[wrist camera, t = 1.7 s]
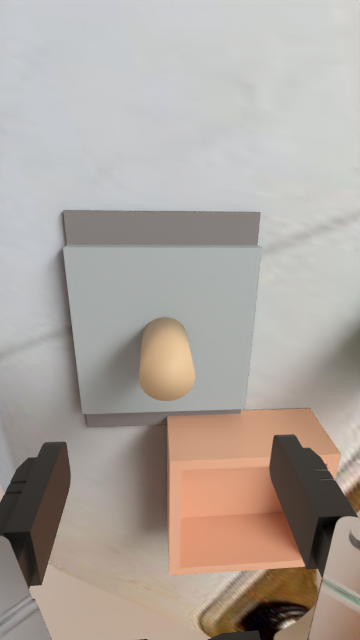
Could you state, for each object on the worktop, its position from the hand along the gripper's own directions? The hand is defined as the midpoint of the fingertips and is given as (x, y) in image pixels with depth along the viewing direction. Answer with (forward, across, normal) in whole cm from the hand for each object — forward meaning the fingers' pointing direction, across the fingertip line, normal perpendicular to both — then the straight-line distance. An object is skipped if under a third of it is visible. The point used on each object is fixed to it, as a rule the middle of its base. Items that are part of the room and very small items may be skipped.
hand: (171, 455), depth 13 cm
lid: (+11, 0, 0) cm, 11 cm away
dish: (+12, -6, +13) cm, 18 cm away
